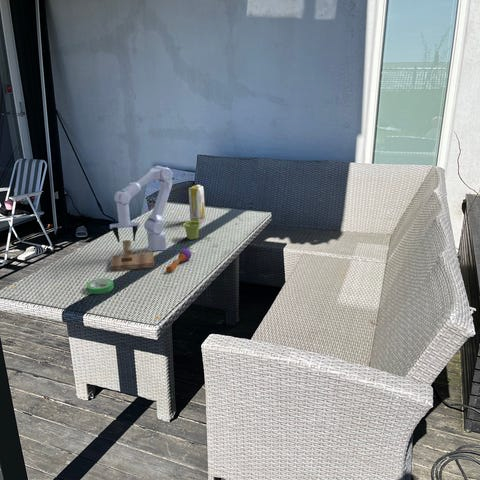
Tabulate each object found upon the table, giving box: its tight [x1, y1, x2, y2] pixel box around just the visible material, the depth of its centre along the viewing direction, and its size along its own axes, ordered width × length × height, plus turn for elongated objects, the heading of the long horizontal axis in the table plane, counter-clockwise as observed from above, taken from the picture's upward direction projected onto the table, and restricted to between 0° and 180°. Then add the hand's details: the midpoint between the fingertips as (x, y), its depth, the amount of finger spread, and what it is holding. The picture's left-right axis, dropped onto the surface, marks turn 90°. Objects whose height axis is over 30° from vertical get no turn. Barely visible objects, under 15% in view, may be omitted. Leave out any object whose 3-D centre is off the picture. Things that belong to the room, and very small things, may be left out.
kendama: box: [165, 248, 192, 273], centre depth 222 cm, size 6×6×20 cm
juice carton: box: [188, 184, 206, 225], centre depth 287 cm, size 9×8×24 cm
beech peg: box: [122, 239, 133, 255], centre depth 234 cm, size 4×4×8 cm
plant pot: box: [182, 220, 201, 240], centre depth 260 cm, size 9×9×9 cm
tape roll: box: [86, 277, 115, 295], centre depth 198 cm, size 11×11×3 cm
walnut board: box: [110, 252, 155, 272], centre depth 224 cm, size 20×14×2 cm
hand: (126, 241), depth 233 cm, fingers open, 7 cm apart
